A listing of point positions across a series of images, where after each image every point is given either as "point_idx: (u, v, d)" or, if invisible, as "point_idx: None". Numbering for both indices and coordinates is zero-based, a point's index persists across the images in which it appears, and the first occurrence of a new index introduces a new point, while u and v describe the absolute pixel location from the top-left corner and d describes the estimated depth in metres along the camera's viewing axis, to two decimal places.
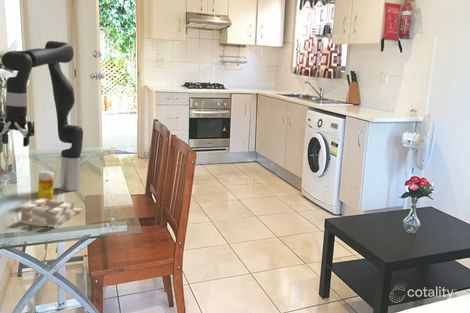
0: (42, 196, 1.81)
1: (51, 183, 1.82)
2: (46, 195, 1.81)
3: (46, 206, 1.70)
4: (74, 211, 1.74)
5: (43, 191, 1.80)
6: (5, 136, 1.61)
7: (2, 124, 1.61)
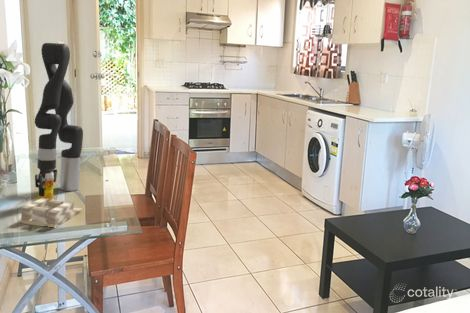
0: (42, 196, 1.81)
1: (51, 183, 1.82)
2: (46, 195, 1.81)
3: (46, 206, 1.70)
4: (74, 211, 1.74)
5: None
6: None
7: None
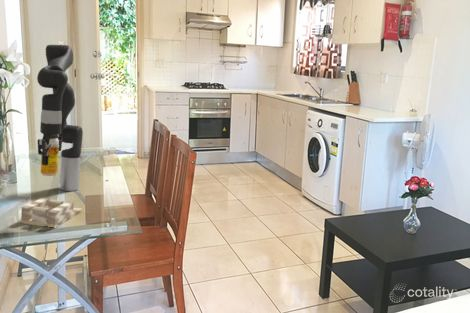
0: (45, 165, 1.59)
1: (56, 150, 1.60)
2: (50, 164, 1.59)
3: (46, 206, 1.70)
4: (74, 211, 1.74)
5: None
6: None
7: None
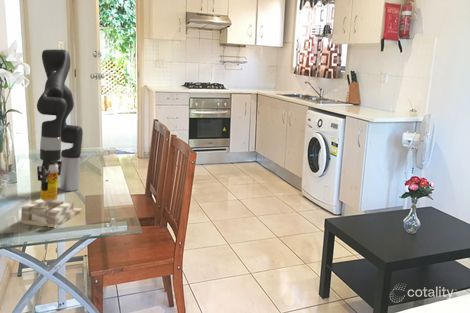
0: (45, 191, 1.60)
1: (55, 176, 1.61)
2: (50, 189, 1.61)
3: (46, 206, 1.70)
4: (74, 211, 1.74)
5: None
6: None
7: None
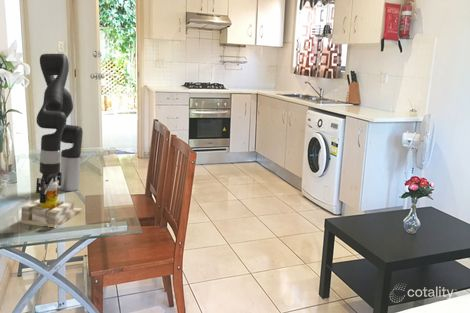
0: None
1: (55, 193, 1.63)
2: (49, 207, 1.62)
3: None
4: (74, 211, 1.74)
5: (46, 202, 1.61)
6: None
7: None
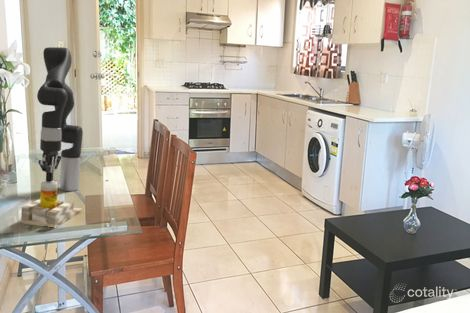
0: None
1: (55, 193, 1.63)
2: (49, 207, 1.62)
3: None
4: (74, 211, 1.74)
5: (46, 202, 1.61)
6: None
7: None
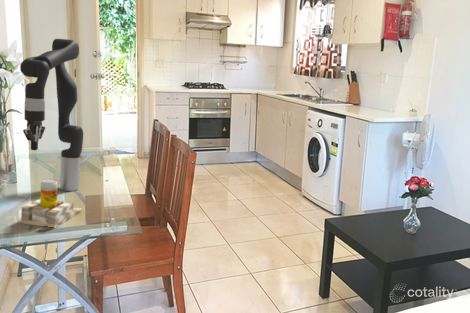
0: None
1: (55, 193, 1.63)
2: (49, 207, 1.62)
3: None
4: (74, 211, 1.74)
5: (46, 202, 1.61)
6: None
7: None
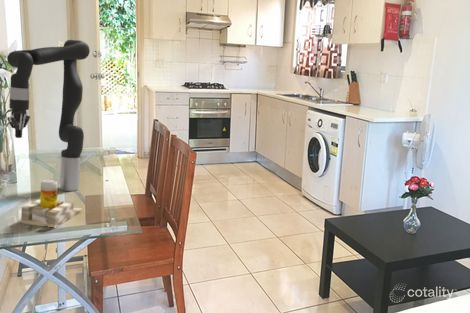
0: None
1: (55, 193, 1.63)
2: (49, 207, 1.62)
3: None
4: (74, 211, 1.74)
5: (46, 202, 1.61)
6: None
7: None
